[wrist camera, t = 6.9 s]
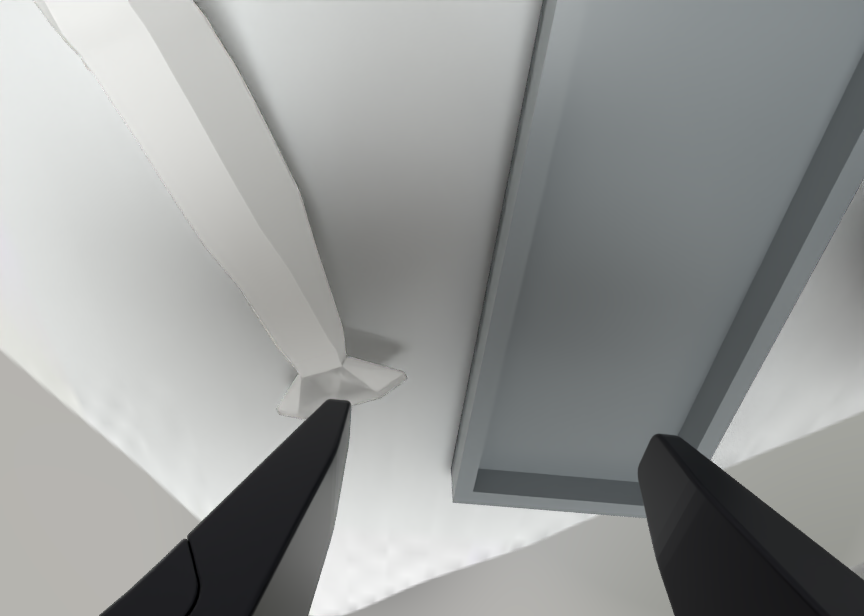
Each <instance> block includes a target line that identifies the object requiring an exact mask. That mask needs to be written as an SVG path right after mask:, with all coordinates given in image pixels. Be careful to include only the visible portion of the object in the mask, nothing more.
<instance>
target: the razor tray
mask: <svg viewBox="0 0 864 616" xmlns="http://www.w3.org/2000/svg"><path fill="white" fill-rule="evenodd" d="M863 179H864V0H543V4H542V9H541V14H540V19H539V24H538V29H537V34H536V39H535V44H534V49H533V55H532V60H531V65H530V70H529V75H528V80H527V85H526V90H525V95H524V100H523V105H522V111H521V116H520V121H519V126H518V131H517V136H516V141H515V146H514V151H513V156H512V161H511V167H510V172H509V177H508V182H507V187H506V192H505V197H504V202H503V207H502V212H501V217H500V222H499V228H498V233H497V238H496V243H495V248H494V253H493V258H492V263H491V268H490V273H489V278H488V284H487V289H486V294H485V299H484V304H483V309H482V314H481V319H480V324H479V329H478V334H477V340H476V345H475V350H474V355H473V360H472V365H471V370H470V375H469V380H468V385H467V390H466V396H465V401H464V406H463V411H462V416H461V421H460V426H459V431H458V436H457V441H456V446H455V452H454V457H453V462H452V467H451V476H452V497H453V503H465V504H478V505H490V506H502V507H514V508H527V509H539V510H551V511H564V512H576V513H588V514H601V515H613V516H626V517H638V518H646V513H645V509H644V504H643V500H642V495H641V491H640V486H639V482H638V474H637V473H638V466H639V463H640V461H641V459H642V456H643V454H644V452H645V450H646V448H647V446H648V444H649V441H650V439H651V438H652V436H654V435H655V434H659V433H660V434H669V435H676V436H679V437H681V438H682V439H684V440H685V441H686V442H687V443H689V444H690V445H691V446H693V447H694V448H695V449H696V450H698V451H699V452H700V453H702V454H703V455H704V456H705V457H707V458H708V459H709V460H711V458H712V456H713V454H714V452H715V450H716V449H717V447H718V445H719V443H720V441H721V439H722V438H723V436H724V434H725V432H726V430H727V428H728V427H729V425H730V423H731V421H732V419H733V417H734V416H735V414H736V412H737V410H738V408H739V406H740V405H741V403H742V401H743V399H744V397H745V395H746V394H747V392H748V390H749V388H750V386H751V384H752V382H753V381H754V379H755V377H756V375H757V373H758V371H759V370H760V368H761V366H762V364H763V362H764V360H765V359H766V357H767V355H768V353H769V351H770V349H771V348H772V346H773V344H774V342H775V340H776V338H777V337H778V335H779V333H780V331H781V329H782V327H783V326H784V324H785V322H786V320H787V318H788V316H789V315H790V313H791V311H792V309H793V307H794V305H795V304H796V302H797V300H798V298H799V296H800V294H801V293H802V291H803V289H804V287H805V285H806V283H807V282H808V280H809V278H810V276H811V274H812V272H813V271H814V269H815V267H816V265H817V263H818V261H819V260H820V258H821V256H822V254H823V252H824V250H825V249H826V247H827V245H828V243H829V241H830V239H831V237H832V236H833V234H834V232H835V230H836V228H837V226H838V225H839V223H840V221H841V219H842V217H843V215H844V214H845V212H846V210H847V208H848V206H849V204H850V203H851V201H852V199H853V197H854V195H855V193H856V192H857V190H858V188H859V186H860V184H861V182H862V181H863Z"/></svg>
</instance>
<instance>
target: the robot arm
mask: <svg viewBox="0 0 864 616" xmlns="http://www.w3.org/2000/svg"><path fill="white" fill-rule="evenodd" d="M350 422H351V403H350V401H348V400H339V399H328V400H326V401H325V402H324V403H323V404H322V405H321V406H320V407H319V408H318V409H317V410H316V411H315V412H314V413H312V414H311V415H310V416H309V417H308V418H307V419H306V420H305V421H304V422H303V423H302V424H301V425H300V426H299V427H298V428H297V429H296V430H295V431H294V432H293V433H292V434H291V435H290V436H289V437H288V438H287V439H286V440H285V441H284V442H283V443H282V444H281V445H280V446H279V447H278V448H277V449H275V450H274V451H273V452H272V453H271V454H270V455H269V456H268V457H267V458H266V459H265V460H264V461H263V462H262V463H261V464H260V465H259V466H258V467H257V468H256V469H255V470H254V471H253V472H252V473H251V474H250V475H249V476H248V477H247V478H246V479H245V480H244V481H243V482H242V483H241V484H240V485H238V486H237V487H236V488H235V489H234V490H233V491H232V492H231V493H230V494H229V495H228V496H227V497H226V498H225V499H224V500H223V501H222V502H221V503H220V504H219V505H218V506H217V507H216V508H215V509H214V510H213V511H212V512H211V513H210V514H209V515H208V516H207V517H206V518H205V519H204V520H202V521H201V522H200V523H199V524H198V526H196V527H195V528H194V530H192V531H191V532H190V533H189V534H188V536H187V539H188V540H187V539H183V540H181V542H180V543H179V544H177V546H175V547H174V548H173V549H172V550H171V551H170V552H169V553H168V554H167V555H166V556H165V557H164V558H163V559H162V560H161V561H160V562H159V563H158V564H157V565H156V566H155V567H153V568H152V569H151V570H150V571H149V572H148V573H147V574H146V575H145V576H144V577H143V578H142V579H140V580H139V581H138V582H137V583H136V584H135V585H134V586H133V587H132V588H131V589H130V590H129V591H128V592H126V593H125V594H124V595H123V596H121V598H119V599H118V600H117V601H116V602H114V603H113V604H112V605H111V606H110V607H108V608H107V609H106V610H105V611H104V612H103V613H101V614H100V615H99V616H308V614H309V611H310V608H311V604H312V601H313V598H314V594H315V591H316V588H317V584H318V581H319V578H320V574H321V571H322V568H323V564H324V561H325V558H326V554H327V551H328V548H329V544H330V541H331V537H332V533H333V530H334V525H335V520H336V515H337V509H338V504H339V498H340V492H341V486H342V481H343V475H344V469H345V463H346V458H347V452H348V446H349V437H350ZM637 474H638V482H639V486H640V491H641V495H642V500H643V504H644V509H645V513H646V518H647V522H648V526H649V531H650V535H651V539H652V544H653V548H654V552H655V557H656V560H657V563H658V567H659V570H660V573H661V576H662V579H663V582H664V585H665V588H666V591H667V594H668V597H669V600H670V603H671V606H672V609H673V612H674V615H675V616H864V580H863V579H862V578H861V577H859V576H858V575H857V574H855V573H854V572H853V571H852V570H850V569H849V568H848V567H846V566H845V565H844V564H842V563H841V562H840V561H839V560H837V559H836V558H835V557H834V556H832V555H831V554H830V553H829V552H827V551H826V550H825V549H823V548H822V547H821V546H819V545H818V544H817V543H816V542H814V541H813V540H812V539H810V538H809V537H808V536H807V535H805V534H804V533H803V532H801V531H800V530H799V529H798V528H796V527H795V526H794V525H793V524H791V523H790V522H789V521H787V520H786V519H785V518H784V517H782V516H781V515H780V514H778V513H777V512H776V511H775V510H773V509H772V508H771V507H769V506H768V505H767V504H766V503H764V502H763V501H762V500H760V499H759V498H758V497H757V496H755V495H754V494H753V493H752V492H750V491H749V490H748V489H746V488H745V487H744V486H742V485H741V484H740V483H739V482H737V481H736V480H735V479H734V478H732V477H731V476H730V475H728V474H727V473H726V472H725V471H723V470H722V469H721V468H719V467H718V466H717V465H716V464H714V463H713V462H712V461H711V460H709V459H708V458H707V457H705V456H704V455H703V454H702V453H700V452H699V451H698V450H696V449H695V448H694V447H693V446H691V445H690V444H689V443H687V442H686V441H685V440H684V439H682V438H681V437H679V436H676V435H669V434H660V433H659V434H655V435H654V436H652V438H651V439H650V441H649V444H648V446H647V448H646V450H645V452H644V454H643V456H642V459H641V461H640V463H639V466H638V473H637Z"/></svg>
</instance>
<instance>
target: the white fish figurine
mask: <svg viewBox="0 0 864 616" xmlns="http://www.w3.org/2000/svg"><path fill="white" fill-rule="evenodd" d="M33 1H34V3H35V4H36V6H37V7H38V8H39V10H40V11H41V12H42V14H43V15H44V16H45V18H46V19H47V21H48V22H49V23H50V25H51V26H52V27H53V28H54V29H55V30H56V32H57V33H58V34H59V35H60V36H61V37H62V39H63V40H64V41H65V42H66V43H67V44H68V46H69V47H70V48H71V49H72V50H73V51H75V52H76V53H77V54H78V55H79V56H80V57H81V59H82V61H83V63H84V65H85V67H86V68H87V69H88V70H89V71H91V72H92V73H93V75H94V77H95V78H96V80H97V81H98V83H99V84H100V86H101V87H102V89H103V90H104V92H105V94H106V95H107V97H108V98H109V100H110V101H111V103H112V104H113V106H114V108H115V109H116V111H117V112H118V114H119V115H120V117H121V118H122V120H123V121H124V123H125V124H126V126H127V127H128V129H129V130H130V132H131V133H132V135H133V136H134V138H135V139H136V141H137V143H138V144H139V146H140V147H141V149H142V151H143V152H144V154H145V155H146V157H147V159H148V160H149V162H150V163H151V165H152V167H153V168H154V170H155V171H156V173H157V174H158V176H159V178H160V179H161V181H162V182H163V184H164V186H165V187H166V189H167V190H168V192H169V193H170V195H171V196H172V198H173V199H174V201H175V203H176V204H177V206H178V207H179V209H180V210H181V212H182V213H183V215H184V216H185V218H186V219H187V221H188V222H189V224H190V225H191V227H192V228H193V230H194V231H195V233H196V234H197V236H198V238H199V239H200V241H201V242H202V244H203V245H204V247H205V248H206V249H207V250H208V251H209V253H210V254H211V255H212V256H213V257H214V259H215V260H216V261H217V262H218V263H219V265H220V266H221V267H222V268H223V269H224V270H225V272H226V273H227V274H228V275H229V276H230V278H231V279H232V280H233V281H234V282H235V283H236V285H237V286H238V287H239V289H240V290H241V292H242V293H243V295H244V297H245V298H246V300H247V301H248V303H249V304H250V306H251V308H252V309H253V311H254V312H255V314H256V315H257V317H258V318H259V320H260V322H261V323H262V325H263V326H264V328H265V329H266V331H267V333H268V334H269V336H270V337H271V339H272V340H273V342H274V344H275V345H276V347H277V348H278V349H279V350H280V351H281V352H282V353H283V355H284V356H285V357H286V358H287V359H288V360H289V362H290V363H291V364H292V366H293V367H294V368H295V370H296V371H297V372H298V375H297V376H296V378H295V380H294V381H293V383H292V384H291V386H290V387H289V389H288V391H287V392H286V394H285V395H284V397H283V398H282V400H281V402H280V403H279V405H278V406H277V408H276V410H277V411H278V413H279V415H283V416H288V417H293V418H298V419H305V418H308V417H309V416H310V415H311V414H312V413H314V412H315V411H316V410H317V409H318V408H319V407H320V406H321V405H322V404H323V403H324V402H325V401H326V400H328V399H339V400H348V401H350V403H351V406H354V405H357V404H361V403H365V402H368V401H372V400H376V399H379V398H382V397H383V396H385V395H386V394H388V393H389V392H390V391H392V390H393V389H394V388H396V387H397V386H399V385H400V384H401V383H403V382H404V381H405V380H407V376H406V374H405V372H404V371H401V370H397V369H393V368H390V367H386V366H383V365H379V364H376V363H372V362H368V361H365V360H361V359H358V358H354V357H350V356H347V354H346V345H345V337H344V332H343V326H342V323H341V320H340V317H339V314H338V311H337V308H336V304H335V301H334V298H333V295H332V292H331V289H330V286H329V283H328V280H327V277H326V274H325V271H324V268H323V265H322V262H321V259H320V256H319V253H318V250H317V247H316V244H315V240H314V237H313V234H312V230H311V227H310V224H309V220H308V217H307V213H306V210H305V207H304V203H303V200H302V196H301V193H300V191H299V189H298V187H297V185H296V183H295V181H294V179H293V177H292V175H291V172H290V170H289V168H288V166H287V164H286V162H285V160H284V158H283V156H282V154H281V152H280V150H279V148H278V146H277V144H276V142H275V140H274V138H273V136H272V134H271V132H270V130H269V128H268V126H267V124H266V122H265V120H264V118H263V116H262V114H261V112H260V110H259V108H258V106H257V104H256V103H255V101H254V99H253V97H252V95H251V93H250V91H249V89H248V87H247V85H246V83H245V81H244V80H243V78H242V76H241V74H240V72H239V71H238V69H237V67H236V65H235V64H234V62H233V60H232V59H231V57H230V55H229V54H228V52H227V51H226V49H225V48H224V46H223V44H222V43H221V41H220V40H219V38H218V37H217V35H216V33H215V32H214V30H213V28H212V26H211V24H210V22H209V20H208V19H207V17H206V16H205V15H204V14H203V13H202V11H201V10H200V9H199V8H198V6H197V5H196V4H195V2H194V1H193V0H33Z"/></svg>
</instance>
